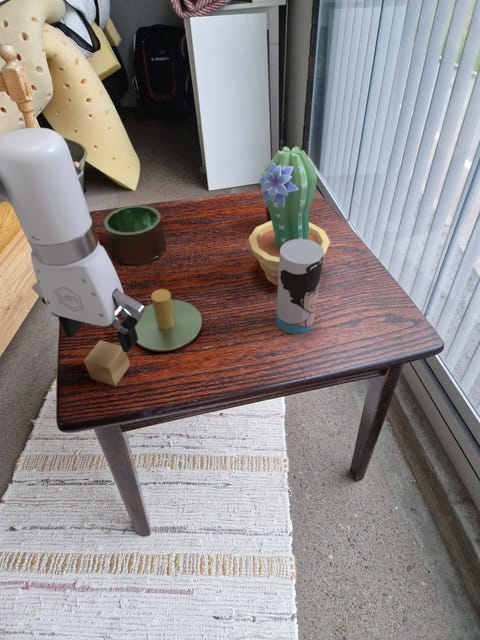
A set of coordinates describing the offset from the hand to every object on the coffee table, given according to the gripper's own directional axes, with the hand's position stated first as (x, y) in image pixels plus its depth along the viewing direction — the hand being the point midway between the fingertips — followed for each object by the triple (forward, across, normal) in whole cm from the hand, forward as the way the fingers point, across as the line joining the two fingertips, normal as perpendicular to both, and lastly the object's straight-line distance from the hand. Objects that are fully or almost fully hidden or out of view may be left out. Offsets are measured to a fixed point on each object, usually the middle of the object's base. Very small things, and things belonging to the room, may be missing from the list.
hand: (102, 338), depth 62 cm
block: (+8, 0, 0) cm, 8 cm away
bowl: (+8, -14, +32) cm, 35 cm away
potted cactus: (+9, +20, +34) cm, 40 cm away
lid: (+7, +4, +12) cm, 14 cm away
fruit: (+9, +14, +51) cm, 53 cm away
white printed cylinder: (+9, +24, +21) cm, 33 cm away
